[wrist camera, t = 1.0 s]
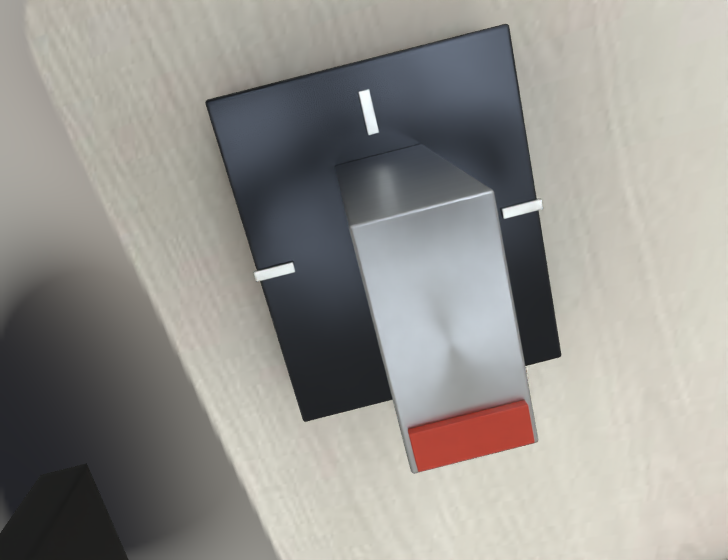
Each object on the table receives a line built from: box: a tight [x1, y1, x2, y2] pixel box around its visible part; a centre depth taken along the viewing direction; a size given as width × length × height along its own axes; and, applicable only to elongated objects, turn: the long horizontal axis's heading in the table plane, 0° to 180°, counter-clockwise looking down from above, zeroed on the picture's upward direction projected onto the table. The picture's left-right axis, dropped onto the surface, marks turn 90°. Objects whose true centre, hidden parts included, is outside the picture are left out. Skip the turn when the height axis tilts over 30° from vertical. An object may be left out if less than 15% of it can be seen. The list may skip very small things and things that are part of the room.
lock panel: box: [205, 24, 561, 422], centre depth 24 cm, size 12×10×3 cm
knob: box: [335, 144, 538, 473], centre depth 18 cm, size 6×3×9 cm, turn 14°
